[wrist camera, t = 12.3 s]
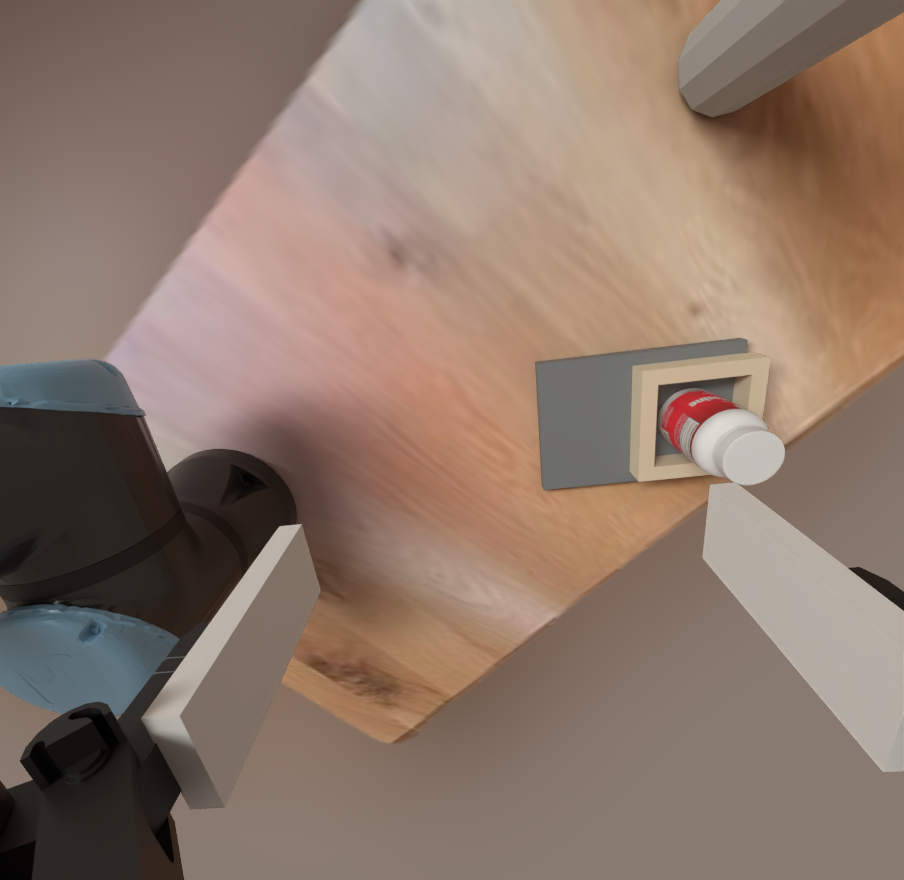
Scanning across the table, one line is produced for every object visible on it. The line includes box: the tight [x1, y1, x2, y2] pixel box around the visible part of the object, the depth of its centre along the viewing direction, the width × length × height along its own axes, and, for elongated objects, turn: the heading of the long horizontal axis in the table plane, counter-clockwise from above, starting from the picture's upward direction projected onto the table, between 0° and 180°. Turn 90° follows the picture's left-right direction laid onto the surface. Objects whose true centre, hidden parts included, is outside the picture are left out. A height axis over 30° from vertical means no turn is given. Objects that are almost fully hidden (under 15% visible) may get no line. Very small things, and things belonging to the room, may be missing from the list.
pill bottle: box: [658, 388, 785, 485], centre depth 39 cm, size 6×6×11 cm
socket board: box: [535, 338, 771, 490], centre depth 44 cm, size 21×14×4 cm
